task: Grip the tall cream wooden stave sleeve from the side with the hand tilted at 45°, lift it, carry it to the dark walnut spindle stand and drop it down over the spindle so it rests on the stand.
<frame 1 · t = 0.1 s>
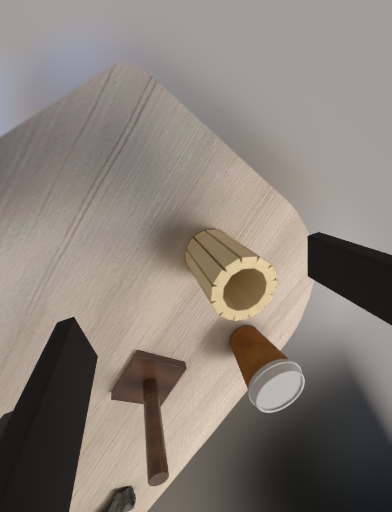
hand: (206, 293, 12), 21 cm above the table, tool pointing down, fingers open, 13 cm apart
wooden stave sleeve: (209, 253, 34), on the table
disposable coffee cup: (243, 337, 43), on the table
spindle stand: (149, 376, 40), on the table
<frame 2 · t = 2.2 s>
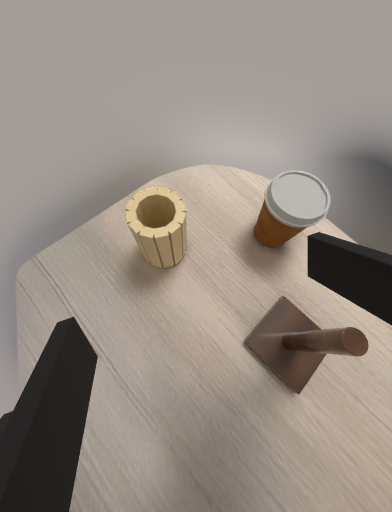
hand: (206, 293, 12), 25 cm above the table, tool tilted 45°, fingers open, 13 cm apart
wooden stave sleeve: (164, 247, 39), on the table
disposable coffee cup: (269, 233, 42), on the table
spindle stand: (286, 341, 34), on the table
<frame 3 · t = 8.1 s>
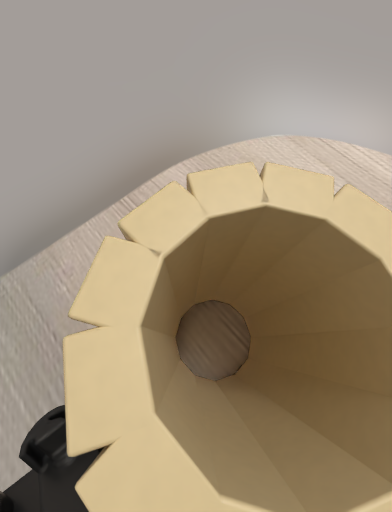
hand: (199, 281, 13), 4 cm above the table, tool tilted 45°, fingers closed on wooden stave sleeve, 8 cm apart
wooden stave sleeve: (213, 337, 15), on the table, touching gripper
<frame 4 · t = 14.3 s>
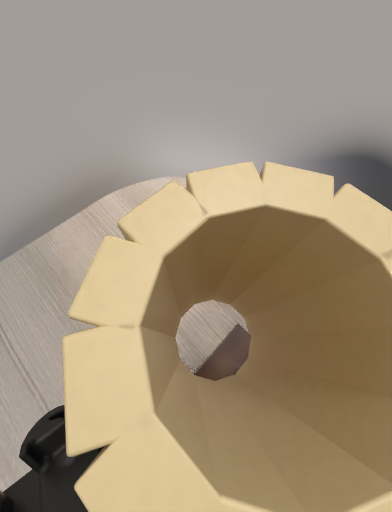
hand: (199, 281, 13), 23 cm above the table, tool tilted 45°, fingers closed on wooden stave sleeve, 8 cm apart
wooden stave sleeve: (213, 337, 15), point 19 cm above the table, touching gripper
spindle stand: (240, 374, 31), on the table
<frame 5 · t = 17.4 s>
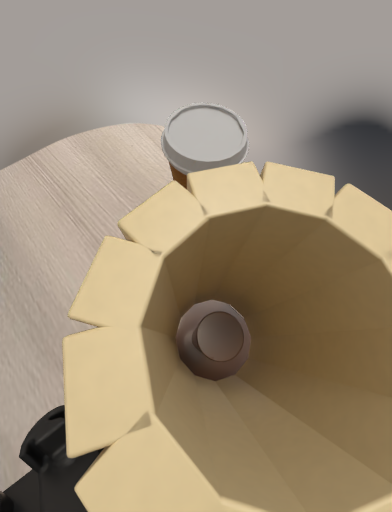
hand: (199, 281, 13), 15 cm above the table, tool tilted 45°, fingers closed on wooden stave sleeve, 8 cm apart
wooden stave sleeve: (213, 337, 15), point 11 cm above the table, touching gripper
disposable coffee cup: (199, 202, 33), on the table
spindle stand: (202, 338, 25), on the table
when the fingers open (6 cm above the table, at t = 20.5 s): wooden stave sleeve stays where it is, resting on spindle stand.
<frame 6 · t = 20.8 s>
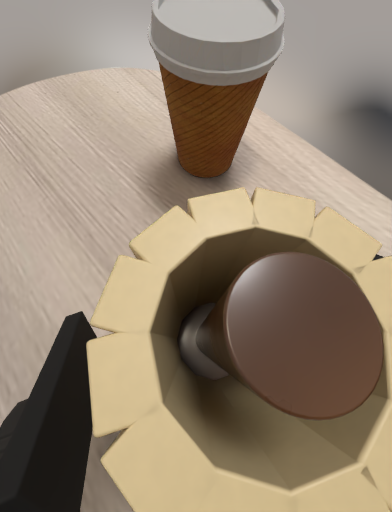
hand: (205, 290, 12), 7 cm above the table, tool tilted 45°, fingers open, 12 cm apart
wooden stave sleeve: (212, 338, 16), point 1 cm above the table, touching spindle stand
disposable coffee cup: (205, 158, 25), on the table
spindle stand: (210, 338, 17), on the table
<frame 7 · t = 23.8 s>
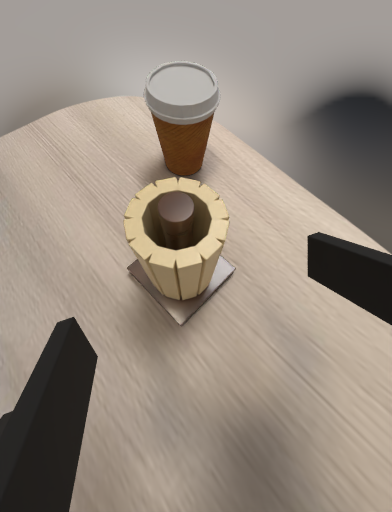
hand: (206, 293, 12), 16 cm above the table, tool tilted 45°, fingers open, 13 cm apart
wooden stave sleeve: (181, 268, 27), point 1 cm above the table, touching spindle stand
disposable coffee cup: (184, 162, 36), on the table
spindle stand: (181, 271, 29), on the table
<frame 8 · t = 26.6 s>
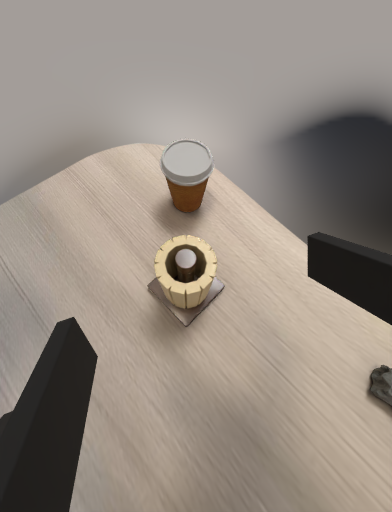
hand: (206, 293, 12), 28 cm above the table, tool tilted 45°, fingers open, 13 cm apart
wooden stave sleeve: (186, 285, 38), point 1 cm above the table, touching spindle stand
disposable coffee cup: (187, 200, 47), on the table
spindle stand: (186, 287, 40), on the table
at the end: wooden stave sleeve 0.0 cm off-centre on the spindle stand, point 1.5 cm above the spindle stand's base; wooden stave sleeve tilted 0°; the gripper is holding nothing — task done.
